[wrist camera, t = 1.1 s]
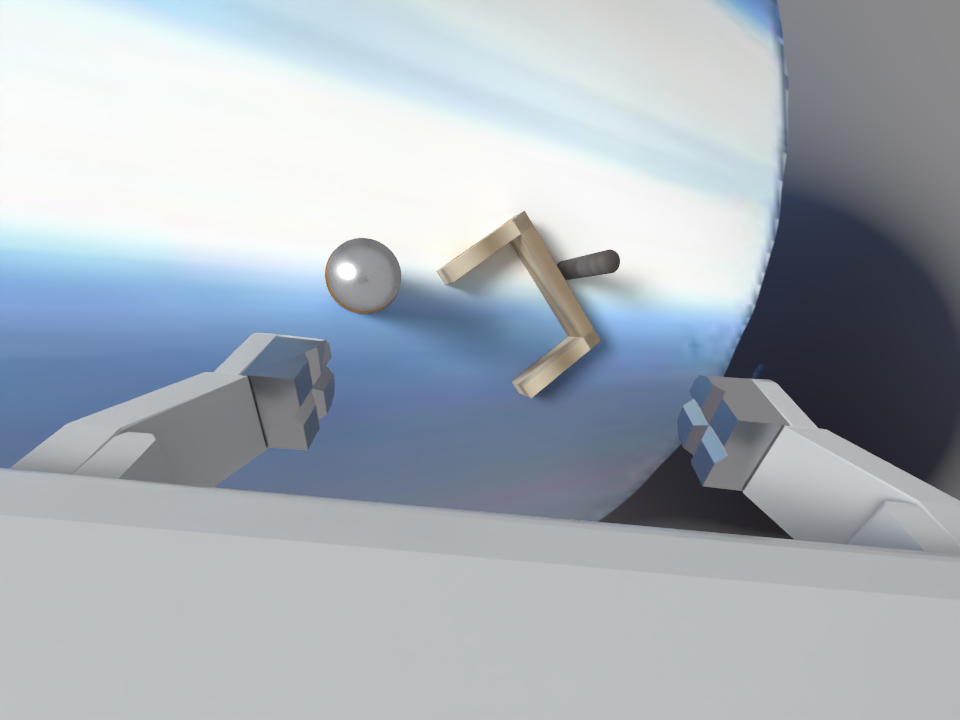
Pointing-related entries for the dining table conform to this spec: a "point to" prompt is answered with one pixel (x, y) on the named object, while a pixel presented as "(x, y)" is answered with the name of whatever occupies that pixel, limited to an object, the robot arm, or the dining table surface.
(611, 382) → the dining table surface
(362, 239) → the silver metal cylinder
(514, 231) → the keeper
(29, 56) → the dining table surface
